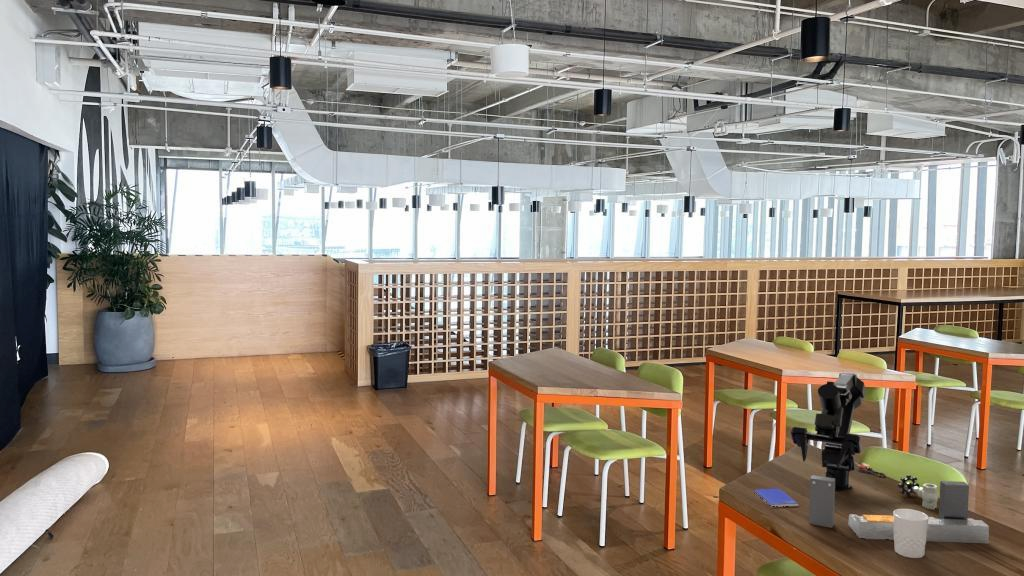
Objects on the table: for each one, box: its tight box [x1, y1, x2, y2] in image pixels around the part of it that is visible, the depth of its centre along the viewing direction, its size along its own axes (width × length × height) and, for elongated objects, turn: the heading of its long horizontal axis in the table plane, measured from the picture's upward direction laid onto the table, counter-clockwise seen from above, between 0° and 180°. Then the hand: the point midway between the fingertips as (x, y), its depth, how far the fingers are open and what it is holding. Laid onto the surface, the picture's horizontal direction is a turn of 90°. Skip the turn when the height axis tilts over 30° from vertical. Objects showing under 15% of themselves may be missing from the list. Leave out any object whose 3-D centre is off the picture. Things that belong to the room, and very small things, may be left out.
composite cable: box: [857, 462, 886, 478], centre depth 254 cm, size 10×5×2 cm, turn 18°
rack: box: [847, 480, 990, 544], centre depth 205 cm, size 10×32×14 cm, turn 83°
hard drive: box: [754, 488, 799, 508], centre depth 232 cm, size 2×8×12 cm
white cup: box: [892, 508, 929, 559], centre depth 194 cm, size 8×8×10 cm
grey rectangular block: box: [808, 474, 836, 529], centre depth 212 cm, size 3×6×13 cm, turn 60°
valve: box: [897, 474, 939, 510], centre depth 228 cm, size 7×7×12 cm
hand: (820, 463), depth 220 cm, fingers open, 9 cm apart
